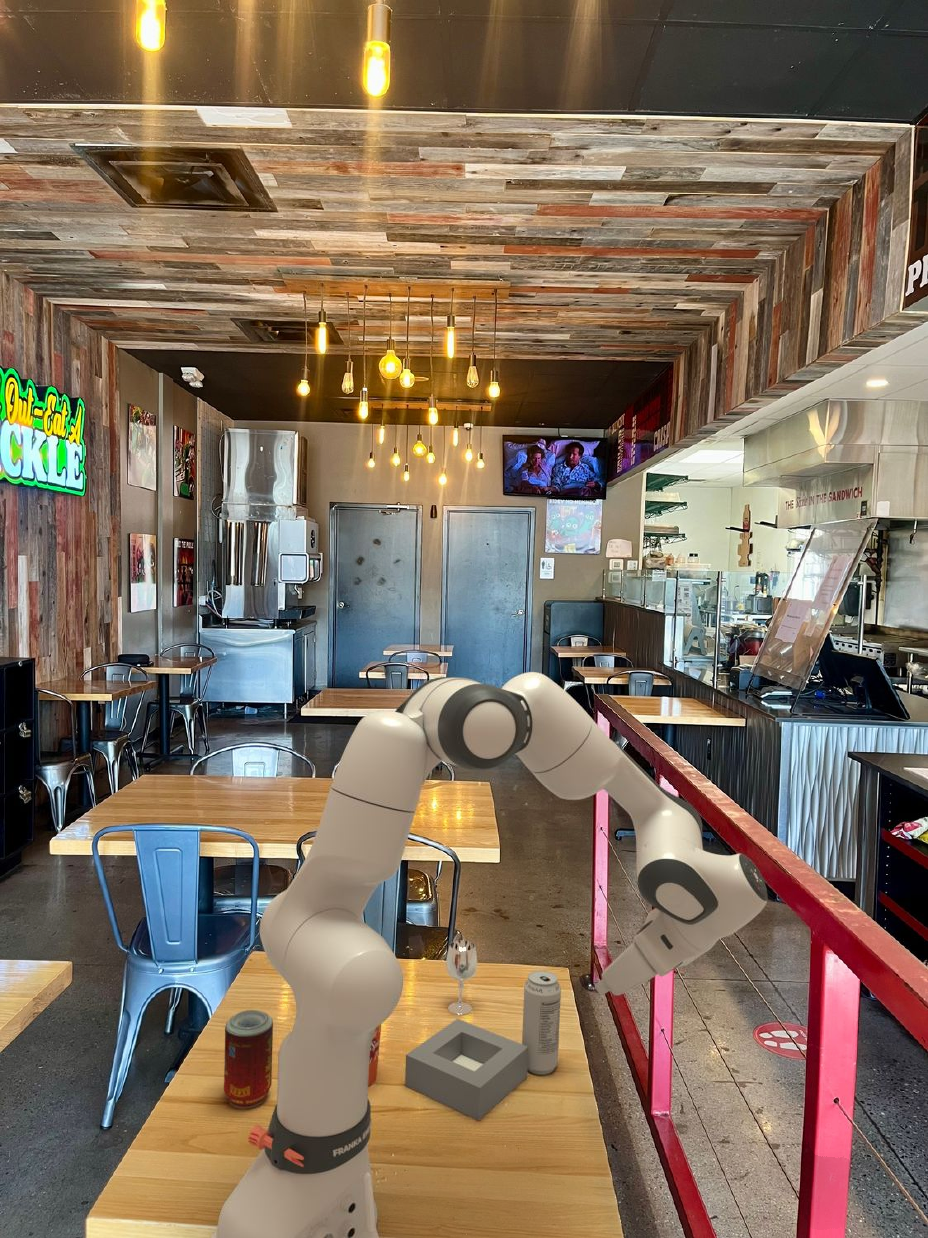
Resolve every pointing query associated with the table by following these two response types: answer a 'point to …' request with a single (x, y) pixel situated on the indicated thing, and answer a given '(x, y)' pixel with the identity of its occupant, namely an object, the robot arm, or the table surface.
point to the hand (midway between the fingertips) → (612, 977)
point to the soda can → (248, 1058)
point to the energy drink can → (541, 1021)
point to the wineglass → (461, 970)
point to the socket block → (466, 1068)
